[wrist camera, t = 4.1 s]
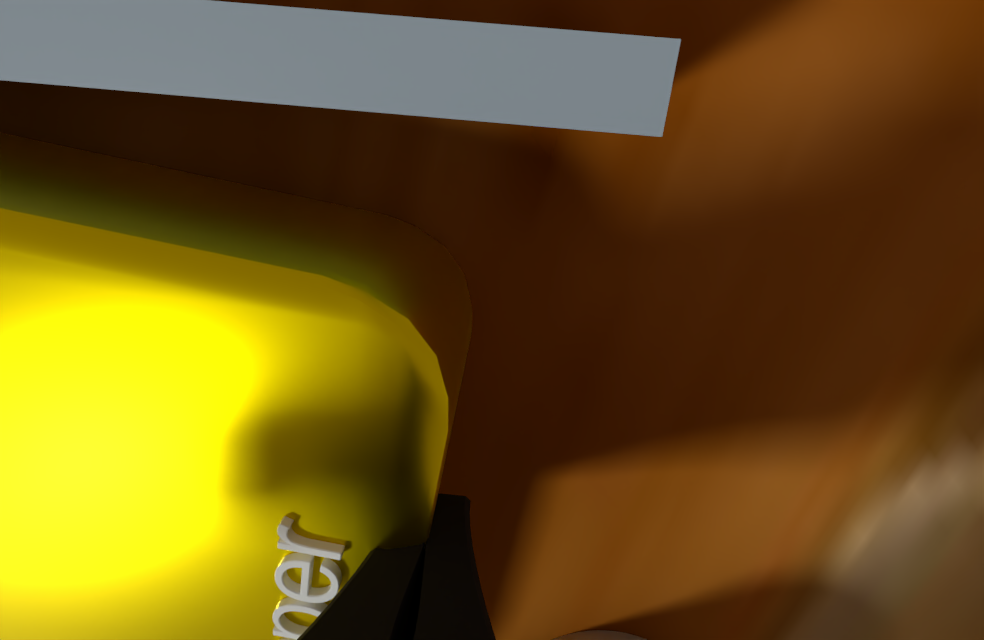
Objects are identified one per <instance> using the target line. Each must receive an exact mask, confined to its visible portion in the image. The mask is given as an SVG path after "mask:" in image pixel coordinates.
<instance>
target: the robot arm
mask: <svg viewBox="0 0 984 640" xmlns="http://www.w3.org/2000/svg"><path fill="white" fill-rule="evenodd" d="M297 640H496V639H495V636H494V633H493V630H492V626H491V623H490V619H489V616H488V612H487V609H486V606H485V602H484V598H483V594H482V590H481V586H480V581H479V577H478V572H477V568H476V563H475V558H474V552H473V546H472V539H471V530H470V500H469V499H468V498H467V497H466V496H458V495H448V494H439V493H438V497H437V502H436V506H435V511H434V516H433V520H432V525H431V530H430V534H429V538H428V539H427V542H426V550H425V548H424V543H422V544H419V545H414V546H407V547H400V548H393V549H383V548H375V549H374V550H372V551H370V552H369V554H368V555H367V556H366V558H365V559H364V561H363V562H362V563H361V565H360V566H359V567H358V569H357V570H356V571H355V573H354V574H353V575H352V576H351V578H350V579H349V580H348V581H347V583H346V584H345V585H344V586H343V587H342V589H341V590H340V591H339V592H338V594H337V595H336V596H335V597H334V598H333V600H332V601H331V602H330V603H329V604H328V606H327V607H326V608H325V609H324V610H323V611H322V613H321V614H320V615H319V616H318V617H317V618H316V619H315V621H314V622H313V623H312V624H311V625H310V626H309V627H308V628H307V629H306V630H305V632H304V633H303V634H302V635H301V636H300V637H299V638H298V639H297Z"/></svg>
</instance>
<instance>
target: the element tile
mask: <svg viewBox="0 0 984 640" xmlns="http://www.w3.org/2000/svg"><path fill="white" fill-rule="evenodd" d="M471 334H472V303H471V299H470V295H469V291H468V287H467V282H466V278H465V274H464V272H463V271H462V270H461V268H460V267H459V265H458V264H457V263H456V261H455V260H454V258H453V257H452V255H451V254H450V253H449V251H448V250H447V248H446V247H445V246H444V245H442V244H441V243H439V242H438V241H436V240H435V239H433V238H432V237H430V236H429V235H427V234H426V233H425V232H423V231H422V230H420V229H419V228H417V227H416V226H414V225H412V224H409V223H406V222H404V221H401V220H399V219H396V218H393V217H391V216H388V215H385V214H381V213H376V212H371V211H366V210H362V209H357V208H352V207H348V206H343V205H338V204H334V203H329V202H324V201H319V200H315V199H310V198H305V197H301V196H296V195H291V194H287V193H282V192H277V191H273V190H268V189H263V188H258V187H254V186H249V185H244V184H240V183H235V182H230V181H226V180H221V179H216V178H212V177H207V176H202V175H197V174H193V173H188V172H183V171H179V170H174V169H169V168H165V167H160V166H155V165H151V164H146V163H141V162H136V161H132V160H127V159H122V158H118V157H113V156H108V155H104V154H99V153H94V152H90V151H85V150H80V149H75V148H71V147H66V146H61V145H57V144H52V143H47V142H43V141H38V140H33V139H29V138H24V137H19V136H14V135H10V134H5V133H0V640H297V639H298V638H299V637H300V636H301V635H302V634H303V633H304V632H305V630H306V629H307V628H308V627H309V626H310V625H311V624H312V623H313V622H314V621H315V619H316V618H317V617H318V616H319V615H320V614H321V613H322V611H323V610H324V609H325V608H326V607H327V606H328V604H329V603H330V602H331V601H332V600H333V598H334V597H335V596H336V595H337V594H338V592H339V591H340V590H341V589H342V587H343V586H344V585H345V584H346V583H347V581H348V580H349V579H350V578H351V576H352V575H353V574H354V573H355V571H356V570H357V569H358V567H359V566H360V565H361V563H362V562H363V561H364V559H365V558H366V556H367V555H368V554H369V552H370V551H372V550H374V549H375V548H383V549H393V548H400V547H407V546H414V545H419V544H422V543H424V548H425V550H426V542H427V539H428V538H429V534H430V530H431V525H432V520H433V516H434V511H435V506H436V502H437V497H438V493H439V489H440V484H441V479H442V474H443V469H444V465H445V460H446V455H447V450H448V445H449V440H450V436H451V431H452V426H453V421H454V416H455V411H456V407H457V402H458V397H459V392H460V387H461V383H462V378H463V373H464V368H465V363H466V358H467V354H468V349H469V344H470V339H471Z"/></svg>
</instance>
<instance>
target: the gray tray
mask: <svg viewBox="0 0 984 640" xmlns="http://www.w3.org/2000/svg"><path fill="white" fill-rule="evenodd" d="M680 42H681V39H675V38H663V37H651V36H638V35H626V34H614V33H602V32H590V31H577V30H565V29H553V28H541V27H529V26H516V25H504V24H492V23H480V22H468V21H456V20H443V19H431V18H419V17H407V16H395V15H382V14H370V13H358V12H346V11H334V10H322V9H309V8H297V7H285V6H273V5H261V4H248V3H236V2H224V1H212V0H0V80H4V81H15V82H27V83H39V84H50V85H62V86H74V87H85V88H97V89H109V90H120V91H132V92H144V93H155V94H167V95H179V96H190V97H202V98H214V99H225V100H237V101H249V102H260V103H272V104H284V105H295V106H307V107H319V108H330V109H342V110H354V111H365V112H377V113H389V114H400V115H412V116H424V117H435V118H447V119H459V120H470V121H482V122H494V123H505V124H517V125H529V126H540V127H552V128H564V129H575V130H587V131H599V132H610V133H622V134H634V135H645V136H657V137H662V135H663V130H664V125H665V120H666V114H667V109H668V104H669V99H670V94H671V89H672V84H673V78H674V73H675V68H676V63H677V58H678V53H679V48H680Z"/></svg>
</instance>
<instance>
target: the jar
mask: <svg viewBox="0 0 984 640" xmlns="http://www.w3.org/2000/svg"><path fill="white" fill-rule="evenodd" d="M552 640H647V639H644V638H642V637H639V636H636V635H632V634H628V633H624V632H618V631H608V630H589V631H581V632H575V633H571V634H566V635H563V636H560V637H557V638H555V639H552Z"/></svg>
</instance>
